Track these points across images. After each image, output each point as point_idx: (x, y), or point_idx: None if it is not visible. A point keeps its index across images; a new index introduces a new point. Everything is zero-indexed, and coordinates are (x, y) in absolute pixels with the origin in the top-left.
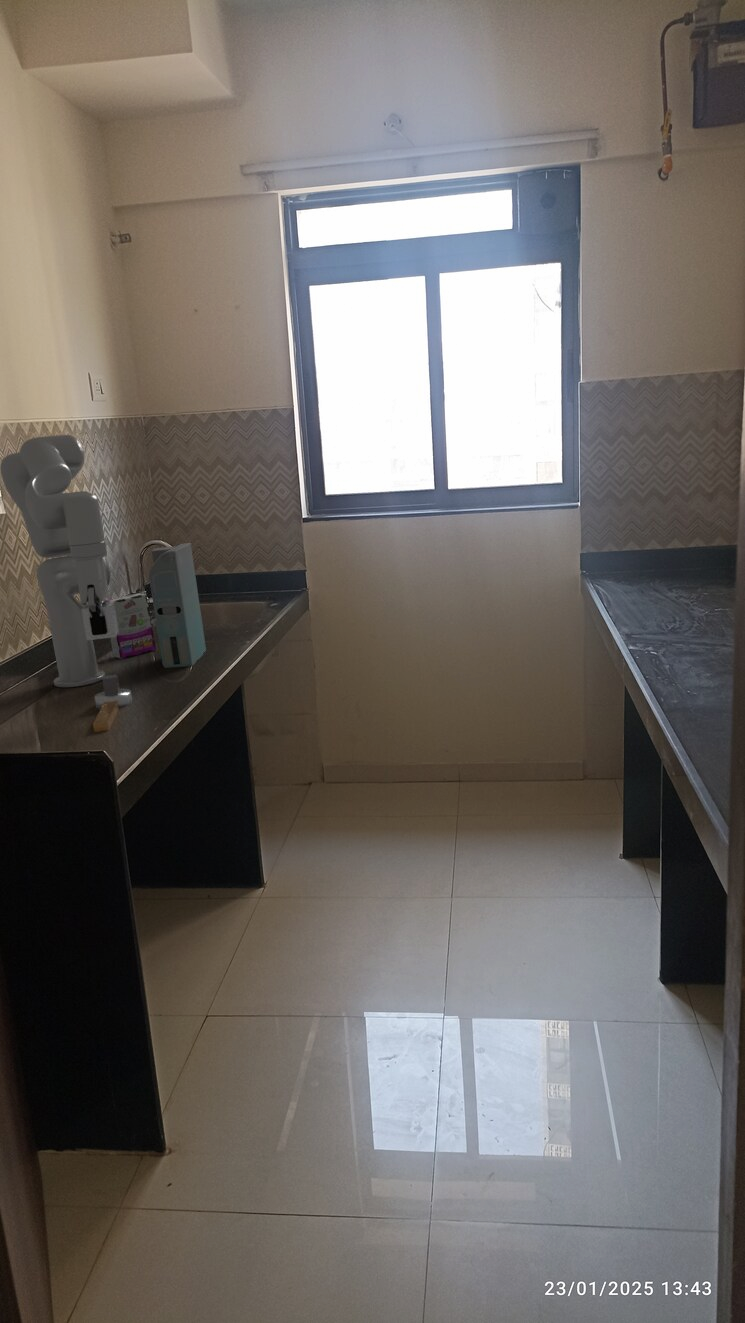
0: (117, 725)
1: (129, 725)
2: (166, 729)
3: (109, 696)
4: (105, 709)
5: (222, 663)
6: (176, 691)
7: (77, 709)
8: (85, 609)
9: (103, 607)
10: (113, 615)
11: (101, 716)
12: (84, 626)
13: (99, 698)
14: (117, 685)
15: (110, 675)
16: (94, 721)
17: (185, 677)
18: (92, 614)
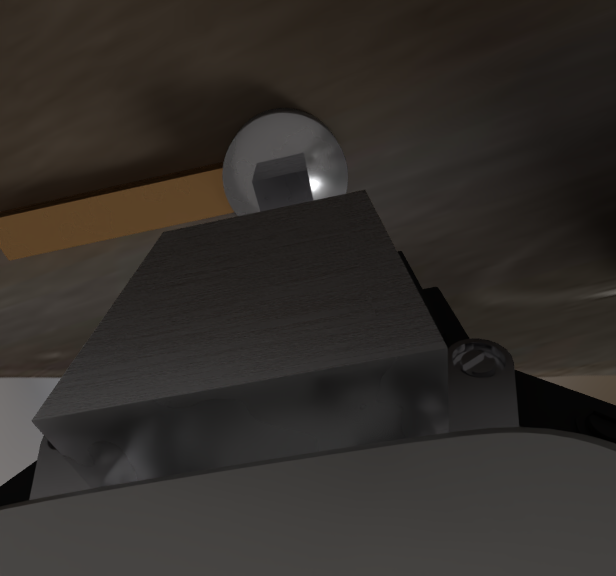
0: (67, 258)
1: (70, 289)
2: (50, 376)
3: (251, 181)
4: (134, 206)
5: (611, 356)
6: None
7: (245, 35)
8: (64, 449)
9: None
10: None
11: (59, 221)
12: (126, 287)
13: (231, 150)
14: None
15: (307, 197)
16: (7, 216)
17: (513, 301)
18: (30, 477)
